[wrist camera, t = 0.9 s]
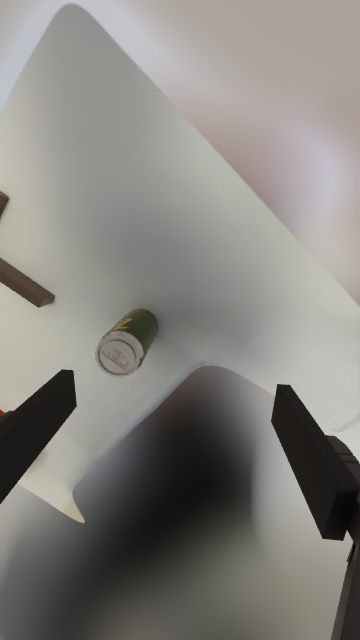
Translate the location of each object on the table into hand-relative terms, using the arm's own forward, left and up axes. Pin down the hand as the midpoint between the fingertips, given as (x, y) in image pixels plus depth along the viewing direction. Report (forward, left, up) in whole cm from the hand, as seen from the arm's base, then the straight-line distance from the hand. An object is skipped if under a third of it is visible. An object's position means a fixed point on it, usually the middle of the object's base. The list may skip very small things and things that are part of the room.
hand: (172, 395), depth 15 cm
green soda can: (+6, -4, -22) cm, 23 cm away
